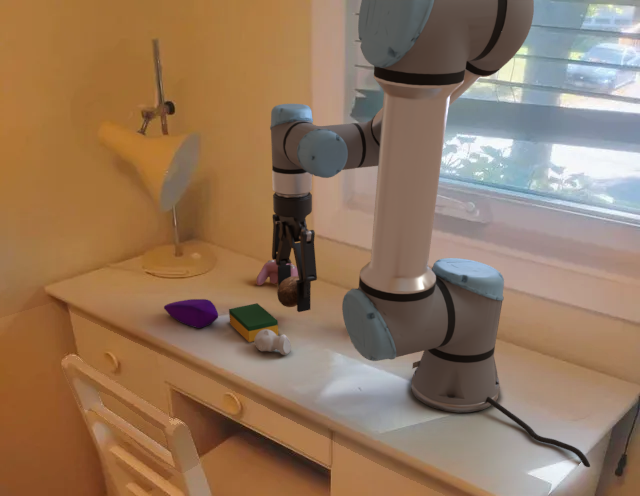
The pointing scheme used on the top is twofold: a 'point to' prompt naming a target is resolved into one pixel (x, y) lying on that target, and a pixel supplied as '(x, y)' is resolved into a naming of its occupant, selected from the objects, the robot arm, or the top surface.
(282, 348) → the smooth white sculpture
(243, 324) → the sponge
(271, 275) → the video game controller
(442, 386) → the robot arm
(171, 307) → the purple rounded wedge
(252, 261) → the top surface
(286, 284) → the brown round lump
